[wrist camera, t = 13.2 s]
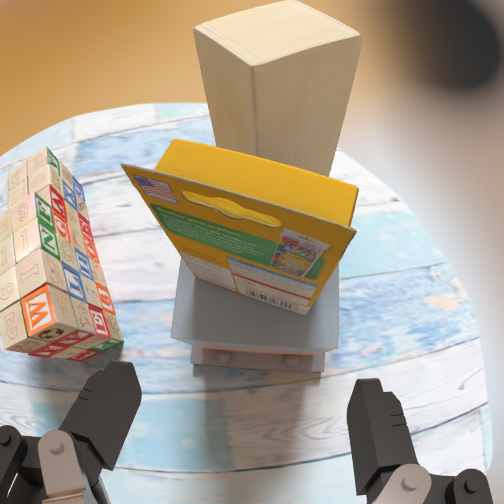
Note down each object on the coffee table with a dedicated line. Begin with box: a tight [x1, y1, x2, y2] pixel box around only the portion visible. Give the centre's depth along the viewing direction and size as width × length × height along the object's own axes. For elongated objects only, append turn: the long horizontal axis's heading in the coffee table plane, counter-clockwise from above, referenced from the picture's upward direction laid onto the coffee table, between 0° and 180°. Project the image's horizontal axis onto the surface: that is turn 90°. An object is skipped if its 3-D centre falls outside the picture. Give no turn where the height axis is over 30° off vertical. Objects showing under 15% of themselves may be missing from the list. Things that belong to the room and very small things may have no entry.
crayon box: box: [121, 139, 359, 315], centre depth 14 cm, size 7×3×12 cm, turn 69°
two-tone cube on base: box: [171, 257, 339, 372], centre depth 25 cm, size 12×12×11 cm
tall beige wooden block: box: [193, 0, 362, 177], centre depth 24 cm, size 8×7×21 cm
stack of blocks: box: [0, 147, 124, 361], centre depth 27 cm, size 21×6×12 cm, turn 26°
